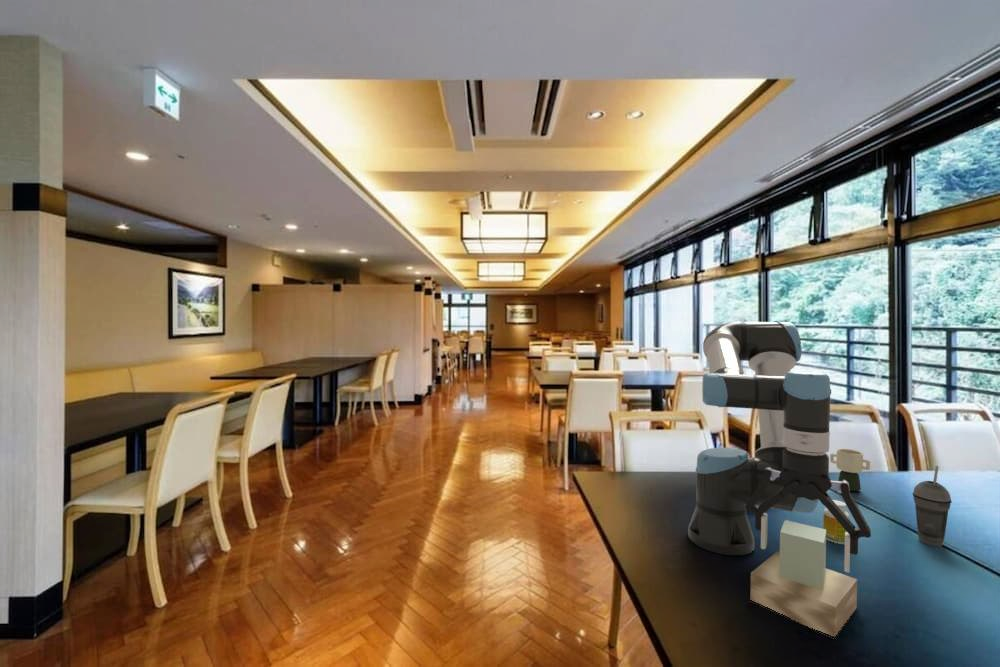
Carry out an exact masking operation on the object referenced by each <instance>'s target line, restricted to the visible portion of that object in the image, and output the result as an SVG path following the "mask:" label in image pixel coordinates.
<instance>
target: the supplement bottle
mask: <svg viewBox="0 0 1000 667" xmlns="http://www.w3.org/2000/svg"><path fill="white" fill-rule="evenodd" d="M832 500H833V501H834V503H835V504H836V505H837V506H838V507H839V508H840V510H841V511H842V512H843V513H844V514H845V515H846V517H847V518H848V519H849V520H850V519H851V518H850V514H849V513H848V512H847V505H846V503H845V501H844V502H843V501H840V500H836V499H832ZM822 514H823V515H822V516H823V517H822V518H823V523H822V524H823V525H822V526H823V527H822V529H826V541H828V542H830V541H831V543H833V542H834V544H837V543H838V544H837V545H845V532H847V531H846V530H845V529H844V528H843V527H842V525H841V524H840V523H839V522H838V521H837V519H836V518H835V517H834V516H833V515H832V514H831V512H830V511H829V510H828V509H827V508H826V507H825V508H824V509H823V513H822ZM850 521H851V520H850Z"/></svg>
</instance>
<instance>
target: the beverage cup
mask: <svg viewBox="0 0 1000 667" xmlns="http://www.w3.org/2000/svg"><path fill="white" fill-rule="evenodd" d="M938 472H939V466H938V465H935V469H934V475H933V481H932V480H924V481H921V482H919V483H917V484H916V485H915V486H914V488H913V492H912V496H913V502H914V506H915V517H916V527H917V528H916V529H917V536H918V541H920V542H921V543H922V544H925V545H928V546H933V547H938V548H939V547H943V546H944V542H945V541H944V540H945V536H946V532H947V531H946V530H947V529H946V528H947V523H948V522H947V521H948V515H949V510H950V508H951V504H952V498H951V497H952V496H951V493H950V492H949V490H948V489H947V488H946V487H945V486H944V485H942V484H941V483H939V482H937V479H938V475H939V474H938Z"/></svg>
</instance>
